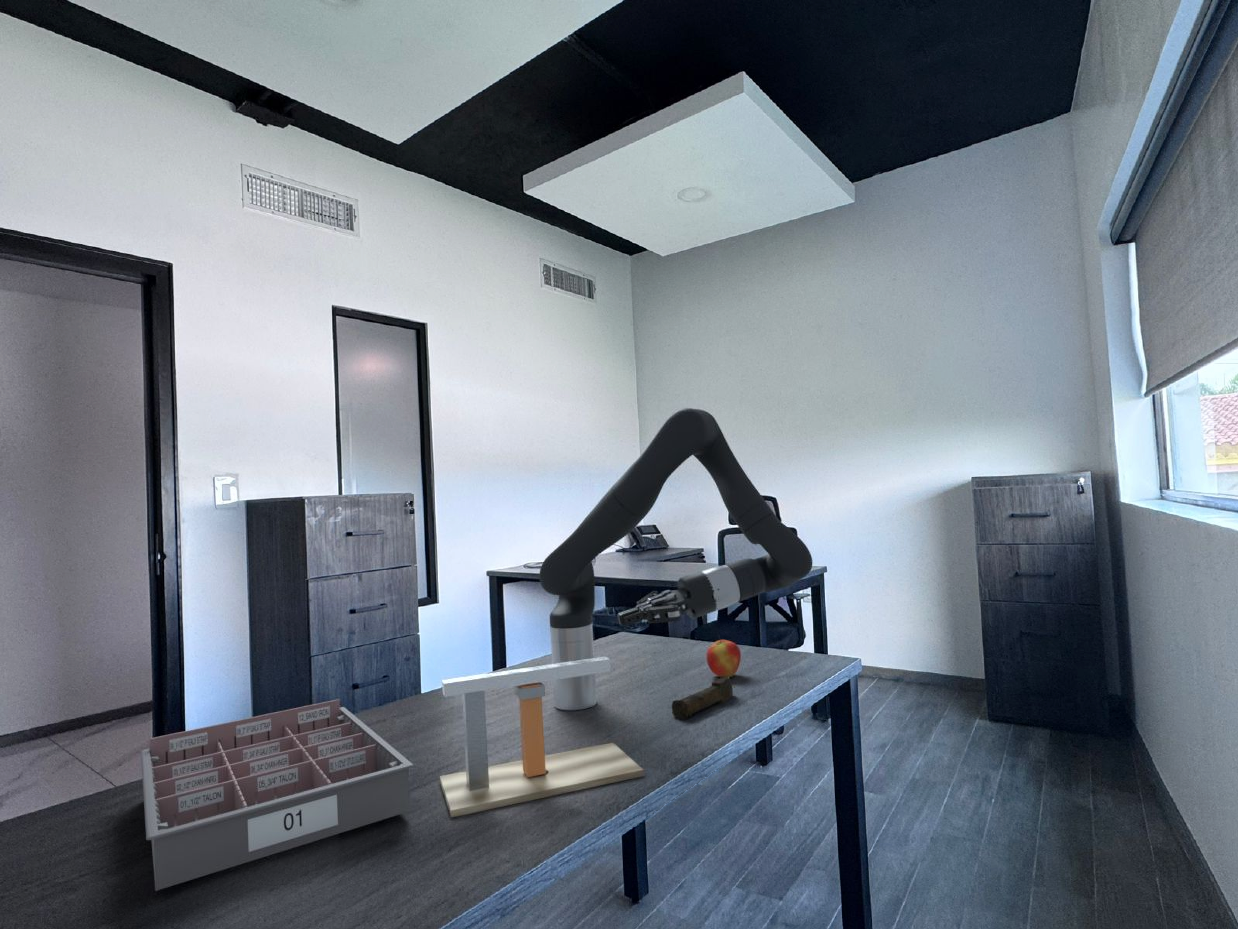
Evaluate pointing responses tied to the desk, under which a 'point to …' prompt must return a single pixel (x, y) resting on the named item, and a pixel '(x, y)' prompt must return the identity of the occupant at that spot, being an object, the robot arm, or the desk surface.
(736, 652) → the apple
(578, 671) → the bar
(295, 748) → the organizer tray
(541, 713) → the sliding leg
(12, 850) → the desk surface
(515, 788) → the board
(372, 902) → the desk surface
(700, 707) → the hand tool
